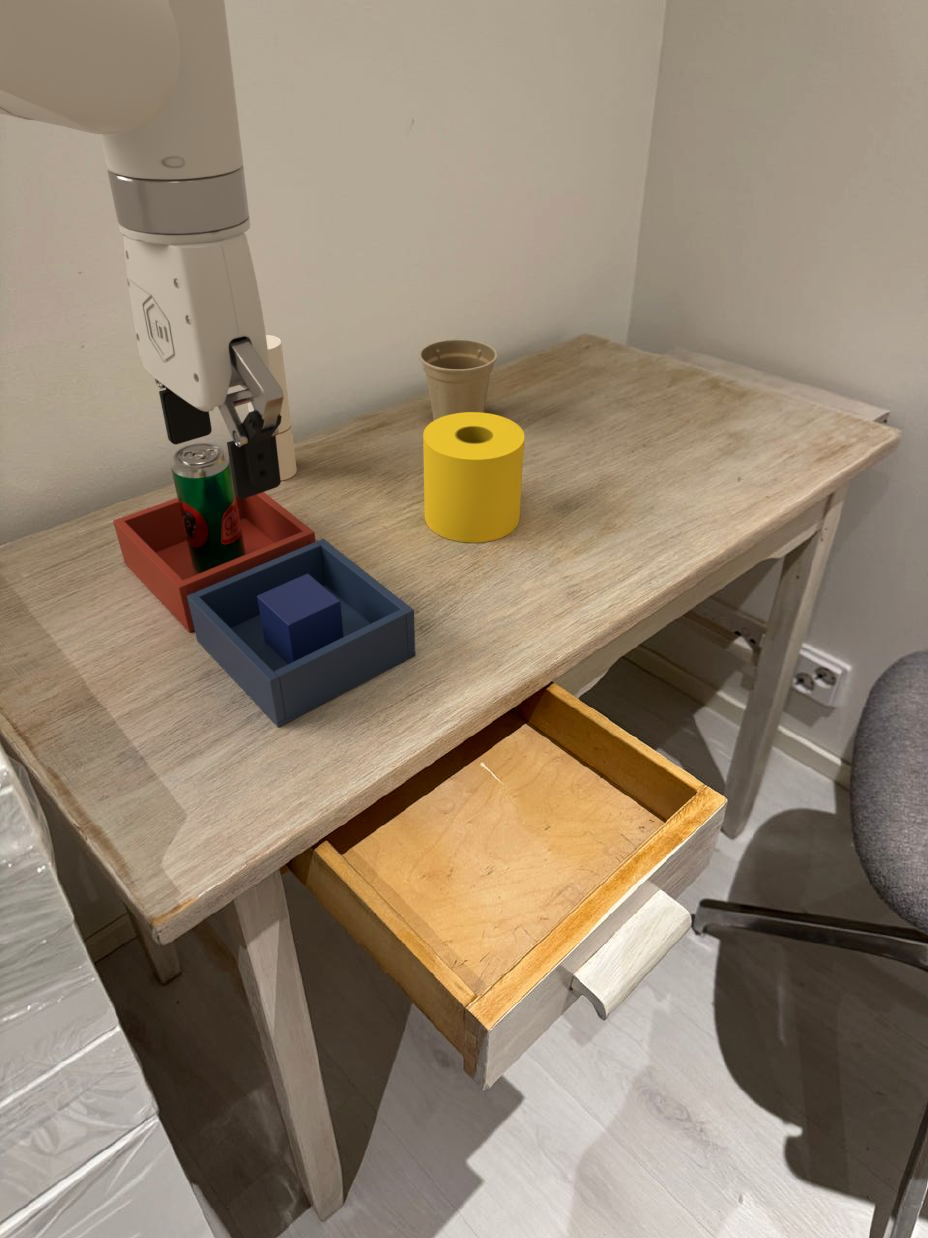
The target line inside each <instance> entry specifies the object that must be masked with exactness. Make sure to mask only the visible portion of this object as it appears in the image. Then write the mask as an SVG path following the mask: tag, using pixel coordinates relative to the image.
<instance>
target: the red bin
mask: <svg viewBox="0 0 928 1238" xmlns="http://www.w3.org/2000/svg"><path fill="white" fill-rule="evenodd" d="M236 500H237V506H238V512H239V517H240V523H241V529H242V535H243V541H244V547H245V552H246V555H244V556H242V557H239V558H237V559H234V560H232V561H229V562H227V563H224V564H222V565H219V566H217V567H215V568H212V569H210V570H207V571H205V572H202V573H198V572H197V571H196V570H195V569H194V568H193V565H192V561H191V557H190V552H189V548H188V543H187V538H186V534H185V529H184V525H183V520H182V516H181V511H180V507H179V502H178V497H175V498H173V499H169V500H167V501H164V502H161V503H158V504H156V505H152V506H150V507H146V508H144V509H141V510H138V511H135V512H133V513H129V514H128V515H127V514H126V515H125V516H122V517H119V518H116V519H113V520H112V522H113V526H114V530H115V533H116V536H117V540H118V544H119V548H120V551H121V554H122V558H123V561H124V562H123V563H124V564H125V565H126V567H128V569H129V570H130V571H131V572H132V573H133V574H134V575H135V576H136V577H137V579H139V581H140V582H141V583H142V584H143V585H144V586H145V587H146V588H147V589H148V590H149V591H150V592H151V593H152V594H153V595H154V597H156V599H157V600H158V601H159V602H160V603H161V604H162V605H163V606H164V608H166V609H167V610H168V612H169V613H170V614H171V615H172V616H173V617H174V618H175V619H176V620H177V621H178V622H179V624H181V625H182V627H183V628H184V629H185V630H186V631H187V632H188V633H193V632H195V629H194V625H193V620H192V616H191V612H190V607H189V603H188V599H187V596H188V595H190V594H193V593H196V592H197V591H200V590H202V589H204V588H207V587H209V586H212V585H214V584H216V583H219V582H221V581H224V580H226V579H228V578H231V577H233V576H236V575H238V574H240V573H243V572H245V571H247V570H250V569H252V568H255V567H257V566H259V565H262V564H264V563H267V562H269V561H271V560H274V559H276V558H279V557H281V556H283V555H286V554H288V553H290V552H293V551H295V550H298V549H300V548H302V547H305V546H307V545H310V544H312V543H314V542H317V540H316V532H315V530H313V529H312V528H310V527H309V526H308V525H306V524H305V523H304V521H301V520H300V519H299V518H298V517H296V516H295V515H294V514H292V513H291V512H290V511H289V510H288V509H286V508H285V507H284V506H282V505H281V504H280V503H279V502H277V501H276V500H274V499H273V498H272V497H271V496H270V495H269V494H267V493H266V492H262V493H259V494H256V495H253V496H251V497H248V498H245V499H241V498H239V497H238V496H237V495H236Z"/></svg>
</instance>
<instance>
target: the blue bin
mask: <svg viewBox="0 0 928 1238" xmlns="http://www.w3.org/2000/svg"><path fill="white" fill-rule="evenodd" d="M306 574H309V575H310V576H311V577H312V578H314V579H315V580H316V581H317V582H318V583H320V584H321V585H322V586H323V587H324V588H325V589H327V590H328V591H329V592H330V593H331V594H333V595H334V596H335V597H336V598H337V599H339V600H340V604H341V614H342V625H343V635H344V637H343V638H341V639H339V640H337V641H335V642H333V643H331V644H329V645H327V646H325V647H323V648H321V649H319V650H317V651H315V652H313V653H311V654H309V655H307V656H304V657H302V658H300V659H298V660H296V661H294V662H292V663H290V664H287V663H286V662H285V661H284V660H283V659H282V658H281V657H280V656H279V655H278V654H277V653H276V652H275V651H274V650H273V649H272V648H271V647H270V646H269V645H268V644H267V643H266V642H265V640H264V635H263V629H262V623H261V617H260V611H259V605H258V599H257V596H258V595H260V594H262V593H264V592H267V591H269V590H271V589H274V588H276V587H278V586H280V585H283V584H285V583H287V582H290V581H292V580H294V579H296V578H299V577H301V576H303V575H306ZM187 599H188V603H189V607H190V612H191V616H192V620H193V625H194V629H195V631H194V633H195V638H196V641H197V642H198V644H200V646H201V647H202V648H203V649H204V650H205V651H206V652H207V653H208V654H209V655H210V656H211V657H212V659H213V660H214V661H215V662H216V663H217V664H218V665H219V666H220V667H221V668H222V669H223V671H225V673H226V674H227V675H228V676H229V677H230V678H231V679H232V680H233V681H234V682H235V683H236V684H237V685H238V686H239V687H240V689H241V690H243V691H244V693H245V694H246V695H247V696H248V698H250V699H251V700H252V701H253V703H254V704H256V706H257V707H258V708H259V709H260V710H261V711H262V712H263V713H264V715H265V716H267V718H268V719H269V720H270V721H271V722H272V723H273V724H274V725H275V726H276V727H277V728H281V727H282V726H284V725H285V724H288V723H290V722H291V721H294V720H295V719H297V718H299V717H302V716H303V715H305V714H307V713H309V712H311V711H313V710H314V709H316V708H318V707H320V706H322V705H324V704H326V703H327V702H330V701H332V700H333V699H336V698H337V697H339V696H341V695H343V694H345V693H347V692H348V691H350V690H352V689H354V688H356V687H358V686H360V685H361V684H363V683H365V682H367V681H369V680H371V679H373V678H375V677H377V676H378V675H380V674H382V673H384V672H386V671H388V670H390V669H392V668H393V667H396V666H397V665H400V664H401V663H403V662H405V661H407V660H409V659H411V658H413V657H414V656H416V634H415V633H416V632H415V609H413V608H412V607H411V606H410V605H409V604H407V603H406V602H405V601H404V600H402V599H401V598H399V597H398V596H397V595H396V594H395V593H393V591H391V590H389V589H388V588H387V587H386V586H384V584H382V583H381V582H379V581H378V580H376V579H375V578H374V577H373V576H372V575H370V574H369V573H368V572H367V571H365V570H364V569H362V568H361V567H360V566H359V565H358V564H356V563H355V562H354V561H352V560H351V559H350V558H349V557H348V556H346V555H345V554H344V553H342V552H341V551H340V550H338V549H337V548H336V547H335V546H333V544H331V543H329V542H328V540H326V539H325V538H321V539H319V540H316V542H314V543H312V544H310V545H307V546H305V547H302V548H300V549H298V550H295V551H293V552H290V553H288V554H286V555H283V556H281V557H279V558H276V559H274V560H271V561H269V562H267V563H264V564H262V565H259V566H257V567H255V568H252V569H250V570H247V571H245V572H243V573H240V574H238V575H236V576H233V577H231V578H228V579H226V580H224V581H221V582H219V583H216V584H214V585H212V586H209V587H207V588H204V589H202V590H200V591H197V592H196V593H193V594H190V595H188V596H187Z"/></svg>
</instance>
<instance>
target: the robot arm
mask: <svg viewBox="0 0 928 1238" xmlns="http://www.w3.org/2000/svg"><path fill="white" fill-rule="evenodd" d="M236 97H237V96H236V90H235V81H234V72H233V63H232V56H231V48H230V38H229V29H228V21H227V13H226V3H225V0H0V115H5V116H10V117H14V118H18V119H22V120H26V121H36V122H41V123H45V124H50V125H55V126H60V127H64V128H68V129H71V130H76V131H81V132H85V133H89V134H93V135H100V141H101V145H102V150H103V156H104V161H105V166H106V168H107V175H108V179H109V180H108V181H109V185H110V190H111V196H112V200H113V205H114V211H115V215H116V219H117V225H118V231H119V233H120V234H121V236H122V237H123V250H124V252H123V253H124V264H125V272H126V273H125V274H126V280H127V287H128V295H129V301H130V307H131V308H130V309H131V313H132V314H131V315H132V321H133V326H134V333H135V337H136V345H137V350H138V355H139V360H140V363H141V364H142V367H143V368H144V369H145V372H147V373H148V374H149V375H150V376H152V378H154V381H155V384H156V386H157V387H158V388H159V389H160V390H159V391H158V394H159V400H160V405H161V410H162V415H163V420H164V426H165V430H166V435H167V439H168V441H169V442H170V443H171V444H173V445H174V446H175V445H176V446H177V445H180V444H183V443H187V442H190V441H193V440H197V439H200V438H204V437H207V436H209V435H211V434H212V432H213V431H212V422H211V415H210V412H213V411H214V410H215V408H217V407H218V410H219V412H220V415H221V416H222V419H223V421H224V423H225V426H226V428H227V430H228V433H229V434H230V437H231V439H232V440H230V441H227V442H226V447H227V452H228V459H229V461H230V467H231V473H232V480H233V486H234V492H235V494H236V495H237V496H238V497H239V498H241V499H245V498H248V497H251V496H253V495H256V494H259V493H262V492H264V493H266V492H267V491H271V490H273V489H276V488H278V487H280V485H281V482H282V480H281V479H280V470H279V461H278V453H277V444H276V436H277V435H278V434H279V428H278V426H279V425H280V423H281V418H282V416H281V415H280V413H281V408H282V403H283V399H284V395H283V391H282V388H281V387H280V385H279V384H278V382H277V381H276V380H275V378H274V377H273V375H272V374H271V372H270V369H269V357H268V348H267V340H266V335H267V333H266V327H265V319H264V316H263V315H264V314H263V308H262V303H261V298H260V293H259V286H258V283H257V282H258V281H257V277H256V272H255V268H254V262H253V258H252V254H251V249H250V246H249V242H248V237H247V235H246V232H248V231H249V229H250V228H251V219H250V211H249V203H248V195H247V193H248V192H247V184H246V183H247V182H246V175H245V167H244V160H243V158H244V157H243V151H242V142H241V133H240V132H241V131H240V126H239V125H240V123H239V115H238V107H237V98H236ZM237 386H240V387H242V388H243V389H241V390H238V391H235V392H230V393H229V389H231V388H234V387H237ZM249 402H251V403H252V405H253V408H254V411H252V412H249V411H248V413H247V415H245V418H244V419H243V421H242V420H241V417H240V416H239V413H238V411H237V409H236V407H239V406H242V405H245V404H248V403H249Z"/></svg>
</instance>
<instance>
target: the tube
mask: <svg viewBox="0 0 928 1238" xmlns="http://www.w3.org/2000/svg"><path fill="white" fill-rule="evenodd" d="M266 340H267V348H268V357H269V369H270V372H271V374H272V375H273V377H274V378H275V380H276V381H277V382H278V384H279V385H280V387H281V388H282V391H283V395H284V399H283V403H282V408H281V413H280V415H281V416H282V418H281V423H280V425H279V426H278V428H279V434H278V435H277V436H276V444H277V453H278V461H279V470H280V479H281V481H285V480H288V479H290V478H292V477H294V476H295V475H296V474H297V471H298V469H297V461H296V451H295V445H294V436H293V428H292V420H291V419H292V418H291V412H290V411H291V410H290V403H289V395H288V387H287V378H286V371H285V370H286V369H285V362H284V354H283V347H282V339H280V338H279V337H278V336H276V335H272V334H266ZM247 408H248V413H249V412H252V411H254V408H253V405H252V403H251V402H249V403H247Z"/></svg>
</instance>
